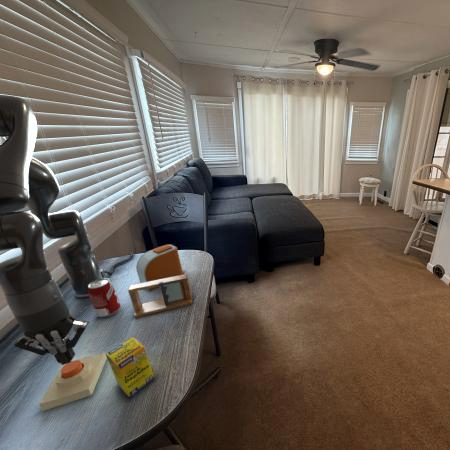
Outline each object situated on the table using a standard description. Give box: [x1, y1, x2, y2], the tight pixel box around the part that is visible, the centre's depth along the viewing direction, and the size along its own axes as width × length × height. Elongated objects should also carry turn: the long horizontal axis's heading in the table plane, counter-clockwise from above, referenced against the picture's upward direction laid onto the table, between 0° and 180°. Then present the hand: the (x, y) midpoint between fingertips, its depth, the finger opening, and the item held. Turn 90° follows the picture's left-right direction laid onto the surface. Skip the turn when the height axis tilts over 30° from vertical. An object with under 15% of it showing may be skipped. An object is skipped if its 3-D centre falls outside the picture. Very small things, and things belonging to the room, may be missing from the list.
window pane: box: [159, 281, 186, 306], centre depth 84 cm, size 5×7×11 cm
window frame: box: [127, 273, 193, 318], centre depth 85 cm, size 6×18×10 cm, turn 112°
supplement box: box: [105, 336, 155, 399], centre depth 58 cm, size 6×6×11 cm
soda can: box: [88, 277, 121, 318], centre depth 82 cm, size 7×7×12 cm
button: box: [60, 359, 83, 378], centre depth 59 cm, size 4×4×2 cm
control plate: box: [39, 351, 108, 411], centre depth 59 cm, size 11×9×4 cm
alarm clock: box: [135, 243, 184, 291], centre depth 101 cm, size 15×8×14 cm, turn 144°
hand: (67, 361), depth 58 cm, fingers closed
